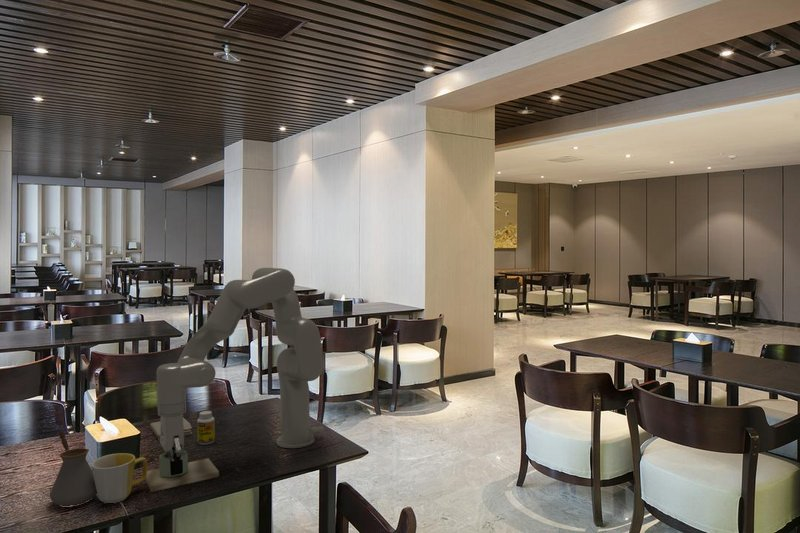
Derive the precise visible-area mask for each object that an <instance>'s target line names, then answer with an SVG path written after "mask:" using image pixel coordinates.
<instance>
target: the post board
mask: <svg viewBox="0 0 800 533" xmlns="http://www.w3.org/2000/svg"><path fill="white" fill-rule="evenodd" d="M174 453H175V452H173V456H174ZM168 458H171V453H170V454H169V456H168ZM218 477H220V471H219V469H218V468H217V467H216V466H215V465H214V463H213V462H212V461H211V460H210V458H209V457H208V458H203V459H198V460H195V461H190V462H189V461H188V471H187V472H186V473H184V474H183V475H179V476H175V477H162V476H161V475H160V471H159V468H157V469H156V468H155V469H151V470H147V476H146V479H145V480H144V481H145V483H146V484H147V486H148V489H149V491H150V493H153V492H157V491H158V492H159V491H162V490H168V489H171V488H175V487H179V486H184V485H188V484H194V483H196V482H197V483H198V482H201V481H206V480H210V479H214V478H218Z"/></svg>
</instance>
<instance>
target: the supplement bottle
mask: <svg viewBox="0 0 800 533" xmlns="http://www.w3.org/2000/svg"><path fill="white" fill-rule="evenodd" d="M198 417H199V418H197V420H196V424H197V425H196V427H197V428H196V429H197V432H196V435H197V444H199V445H202V446H203V445H205V446H206V445H211V444H213V443H215V441H216V430H215V429H216V428H215V427H216V425H215V424H216V423H215V417H213V412H212V411H211V410H202V411H201V412H199V416H198Z"/></svg>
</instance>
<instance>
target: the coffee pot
mask: <svg viewBox="0 0 800 533" xmlns="http://www.w3.org/2000/svg"><path fill="white" fill-rule="evenodd" d="M55 435H56V438H59V439H61V445H62V446H63V449H64V451H63V452H61V453H60V454H59V458H60V459H61V460H62V464H61V466H60V469H59V471H58V473H57V476H56V479H55V481H54V483H53V486H52V488H51V491H50V493H49V498H50V500H51V501H52V502H53V503H54V504H56V505H58V506H59V505H62V506H70V505H77V504H81V503H84V502H86V501H88V500H90V499H91V498H92V499H93V498H94V497H96V495H97V490H96V486H95V481H94V476H93V472H92V467H91V465H90V464H89V462H88V460H87V459H86V458H87V455H88V454H89V451H90V449H89V448H73V449H70V446H69V444H68V440H67V439H66V432H65V431H62V430H60V431H59V432H57V433H56V434H55ZM58 435H60V436H58Z"/></svg>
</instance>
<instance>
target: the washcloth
mask: <svg viewBox="0 0 800 533" xmlns="http://www.w3.org/2000/svg"><path fill="white" fill-rule="evenodd" d="M183 428H184V437H187V436H191V435H193V431H192V429H193V427H192V424H191V423H190V422H189V421H188V420H187V419H185V417H184V416H183ZM149 429H150V430H151V431H152V433H153V432H154V433H153V434H154V435H155V436H156V439H157V440H158V441H159V442H160V421H159V420H158V421H154V422H151V423H150V424H149Z"/></svg>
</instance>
